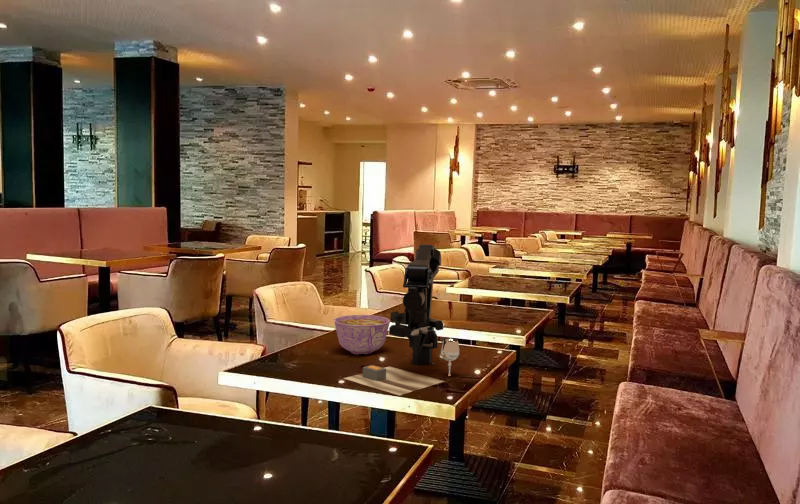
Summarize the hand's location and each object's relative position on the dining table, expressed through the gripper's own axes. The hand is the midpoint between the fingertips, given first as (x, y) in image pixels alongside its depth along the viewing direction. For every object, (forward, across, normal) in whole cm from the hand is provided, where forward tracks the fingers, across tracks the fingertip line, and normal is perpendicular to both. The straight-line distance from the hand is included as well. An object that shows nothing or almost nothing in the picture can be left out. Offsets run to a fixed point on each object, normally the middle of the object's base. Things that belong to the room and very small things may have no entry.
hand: (416, 355), depth 202 cm
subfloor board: (+7, +9, 0) cm, 12 cm away
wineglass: (+7, -7, +8) cm, 13 cm away
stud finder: (+6, +12, -6) cm, 15 cm away
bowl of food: (+8, -9, -36) cm, 38 cm away
